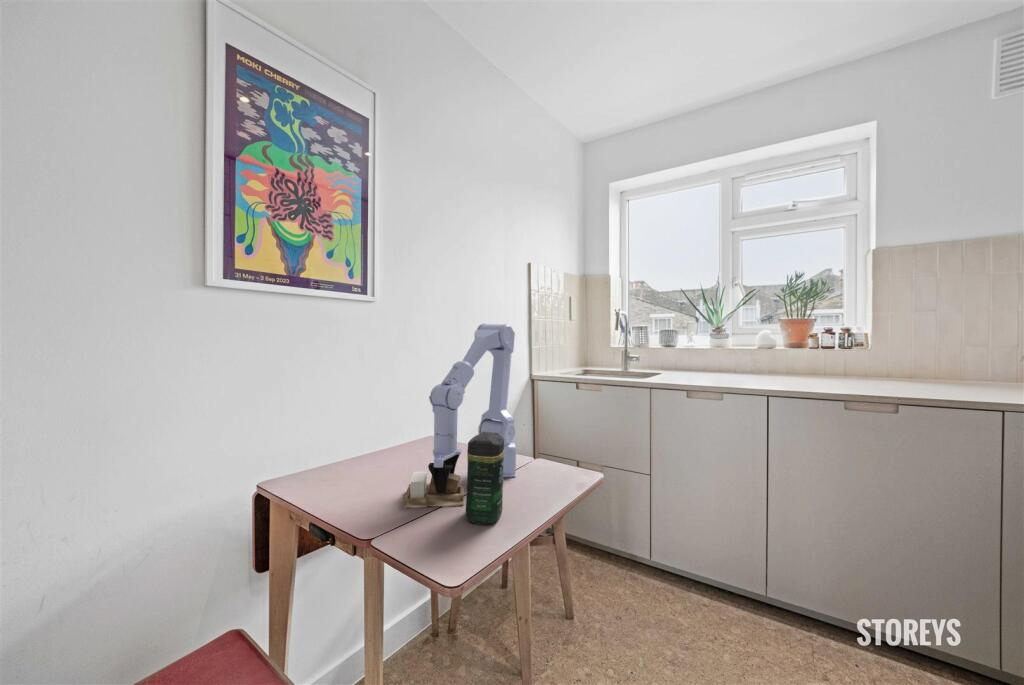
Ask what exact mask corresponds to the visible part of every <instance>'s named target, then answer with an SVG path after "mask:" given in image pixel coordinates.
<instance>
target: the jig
mask: <svg viewBox="0 0 1024 685" xmlns="http://www.w3.org/2000/svg"><path fill="white" fill-rule="evenodd" d="M429 486H430V482H427V487H426V495H425V498H413V499H410V483H409V484H408V486H407V489H406V492H405V495H404V498H403V505H402V506H403V507H402V508H407V507H411V508H428V507H427V506H442V507H463V506H464V492H465V491H464V484H462V485H461V484H459V485H458V489H457V493H456V494H438V495H436V494H432V493H429V492H428V490H429ZM425 506H426V507H425Z"/></svg>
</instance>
